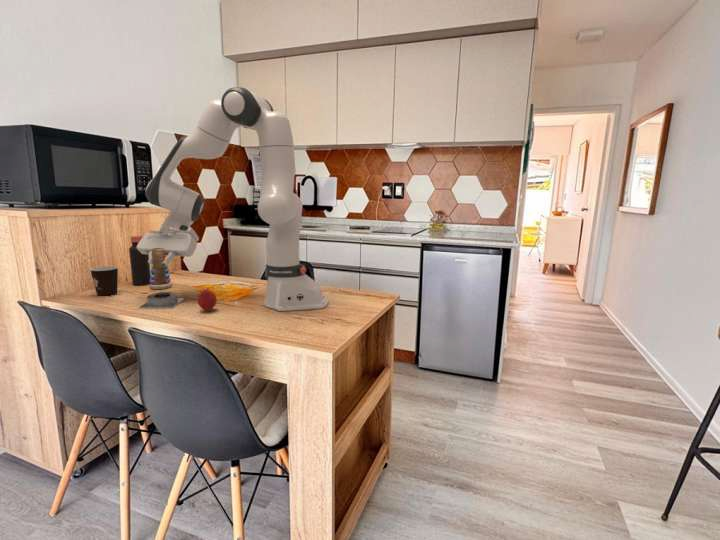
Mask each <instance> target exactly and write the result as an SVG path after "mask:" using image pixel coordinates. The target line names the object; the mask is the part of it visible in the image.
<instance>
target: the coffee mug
mask: <svg viewBox="0 0 720 540" xmlns="http://www.w3.org/2000/svg"><path fill="white" fill-rule="evenodd" d="M118 269H119V267H118V266H116V265H109V266H108V265H107V266H106V265H105V266H98V267H92V268H90V274H91V277H92V282H93V285H94V289H95V292H96V296H97V297H98V296H108V297H112V296H111V295H113V296H116V295H118V276H119V273H118V272H119V270H118ZM115 294H116V295H115Z"/></svg>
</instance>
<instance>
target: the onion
mask: <svg viewBox="0 0 720 540" xmlns="http://www.w3.org/2000/svg"><path fill="white" fill-rule="evenodd" d="M217 301H218V299H217V296H216V294H215V293H214V292H213V291H212V290H210V288H209V287H207V286H206V287H204V289H203V291H201V292H200V293H199V295H198V297H197V304H198V306H199V307H200V308H201V309H202V310H204V311H206V312H210V311H211V310H212V309H213V308H214V307H215V306H216V305H217Z"/></svg>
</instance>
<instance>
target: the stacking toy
mask: <svg viewBox="0 0 720 540" xmlns="http://www.w3.org/2000/svg"><path fill="white" fill-rule="evenodd" d="M166 257H167V255H164V259H165V258H166ZM168 266H169V264H168V265H165V272H166V283H165V284H159V285H158V284H155V282H154V270H153V264H150V277H151V279H150V284H149V288H150V289H152V290H165V289H169V288H171V287H172V282H171V278H170V276H171V275H170V272H169V271H170V269H169V268H168Z"/></svg>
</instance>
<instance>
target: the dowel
mask: <svg viewBox="0 0 720 540" xmlns="http://www.w3.org/2000/svg"><path fill="white" fill-rule="evenodd" d="M151 250H152V259H153V270H154V282H155V284H158V285H159V284H165V283H166V272H165V265H163V264H162V263H161V262H162V260H163V259H164V248H153V249H151Z"/></svg>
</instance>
